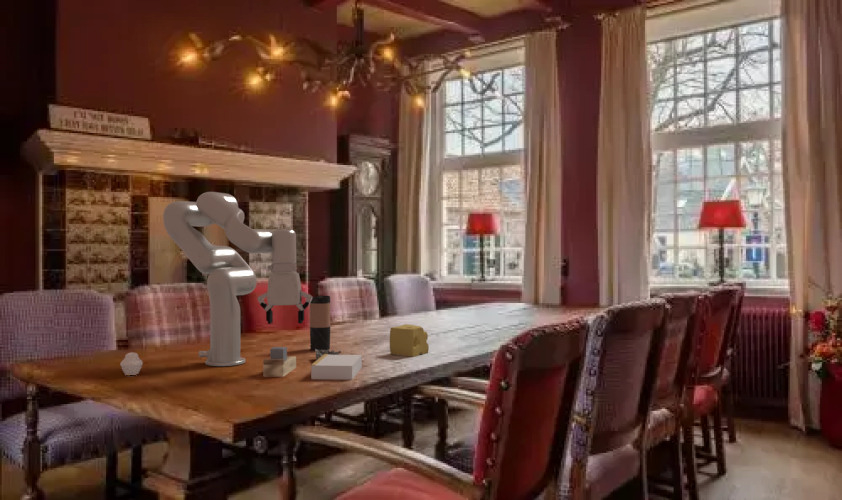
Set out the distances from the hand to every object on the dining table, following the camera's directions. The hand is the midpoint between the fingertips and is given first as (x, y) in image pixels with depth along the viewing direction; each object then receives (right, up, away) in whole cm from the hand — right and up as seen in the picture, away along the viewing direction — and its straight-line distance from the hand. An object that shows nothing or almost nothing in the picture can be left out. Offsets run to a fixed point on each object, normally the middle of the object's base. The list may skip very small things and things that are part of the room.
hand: (285, 323), depth 203 cm
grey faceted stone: (-44, -15, -9) cm, 47 cm away
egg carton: (+11, -15, +16) cm, 25 cm away
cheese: (+38, -15, +30) cm, 51 cm away
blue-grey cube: (-1, -11, -5) cm, 12 cm away
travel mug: (+5, -15, +40) cm, 43 cm away
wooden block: (-1, -15, -4) cm, 16 cm away
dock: (+17, -15, -6) cm, 23 cm away
